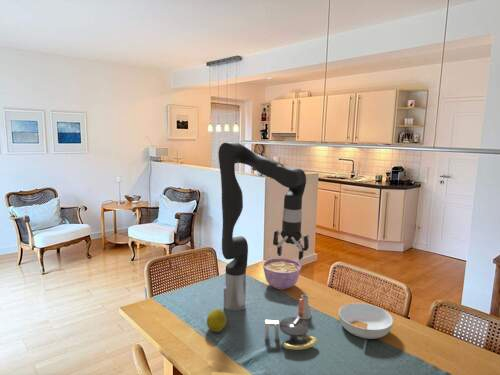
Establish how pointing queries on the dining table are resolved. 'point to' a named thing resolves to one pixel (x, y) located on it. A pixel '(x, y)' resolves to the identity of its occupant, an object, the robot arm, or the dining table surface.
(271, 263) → the bowl of food
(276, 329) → the grey arch-shaped block
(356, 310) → the serving bowl
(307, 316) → the flask
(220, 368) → the dining table surface
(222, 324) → the lemon
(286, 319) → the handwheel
